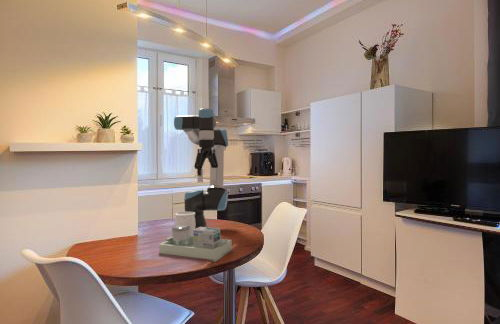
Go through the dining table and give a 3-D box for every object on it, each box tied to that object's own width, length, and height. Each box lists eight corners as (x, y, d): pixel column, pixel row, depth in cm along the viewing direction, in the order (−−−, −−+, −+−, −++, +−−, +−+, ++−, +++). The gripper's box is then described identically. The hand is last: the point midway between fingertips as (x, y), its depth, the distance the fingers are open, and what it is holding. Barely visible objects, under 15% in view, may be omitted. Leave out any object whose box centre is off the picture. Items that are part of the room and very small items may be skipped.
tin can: (178, 245, 150) (178, 225, 150) (193, 247, 148) (193, 226, 147) (168, 250, 143) (168, 228, 143) (183, 252, 140) (183, 230, 140)
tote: (180, 245, 155) (180, 233, 155) (232, 250, 145) (231, 237, 145) (158, 255, 140) (158, 241, 139) (215, 262, 129) (214, 247, 129)
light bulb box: (221, 251, 141) (220, 227, 140) (214, 256, 134) (213, 231, 134) (200, 249, 145) (200, 226, 144) (192, 253, 138) (192, 229, 138)
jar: (191, 245, 155) (190, 215, 155) (171, 244, 157) (171, 214, 157) (198, 239, 165) (198, 211, 165) (180, 238, 167) (180, 211, 167)
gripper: (211, 140, 171) (212, 179, 171) (186, 138, 147) (187, 183, 148) (223, 140, 168) (224, 179, 168) (200, 138, 145) (201, 183, 145)
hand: (207, 181), depth 158 cm, fingers open, 13 cm apart
